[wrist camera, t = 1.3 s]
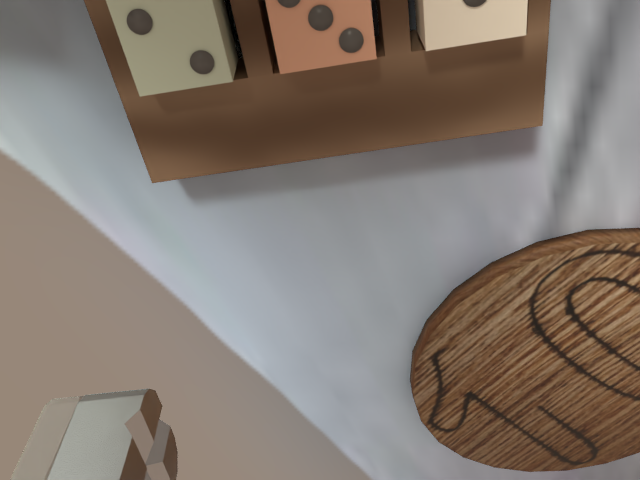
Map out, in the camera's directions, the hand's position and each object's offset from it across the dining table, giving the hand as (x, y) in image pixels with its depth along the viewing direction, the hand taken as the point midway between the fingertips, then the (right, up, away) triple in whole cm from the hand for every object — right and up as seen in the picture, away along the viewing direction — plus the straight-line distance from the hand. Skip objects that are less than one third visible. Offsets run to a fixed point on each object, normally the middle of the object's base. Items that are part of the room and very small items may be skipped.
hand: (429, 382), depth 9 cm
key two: (-8, +13, +21) cm, 26 cm away
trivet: (+18, -7, +39) cm, 43 cm away
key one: (+5, +15, +20) cm, 25 cm away
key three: (-2, +14, +20) cm, 24 cm away
